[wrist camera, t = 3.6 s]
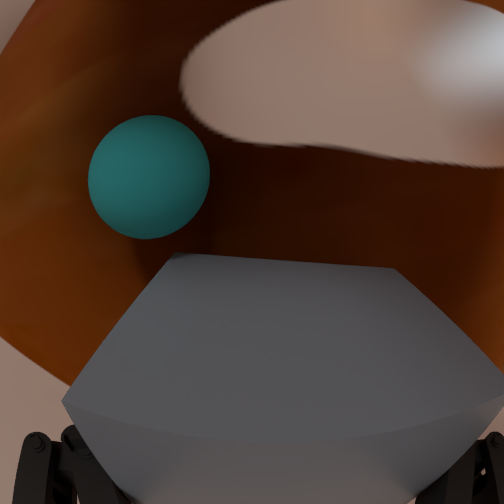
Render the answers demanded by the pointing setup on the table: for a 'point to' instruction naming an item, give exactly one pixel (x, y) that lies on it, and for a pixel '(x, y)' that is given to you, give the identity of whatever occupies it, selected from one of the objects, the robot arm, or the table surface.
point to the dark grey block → (281, 386)
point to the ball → (148, 177)
